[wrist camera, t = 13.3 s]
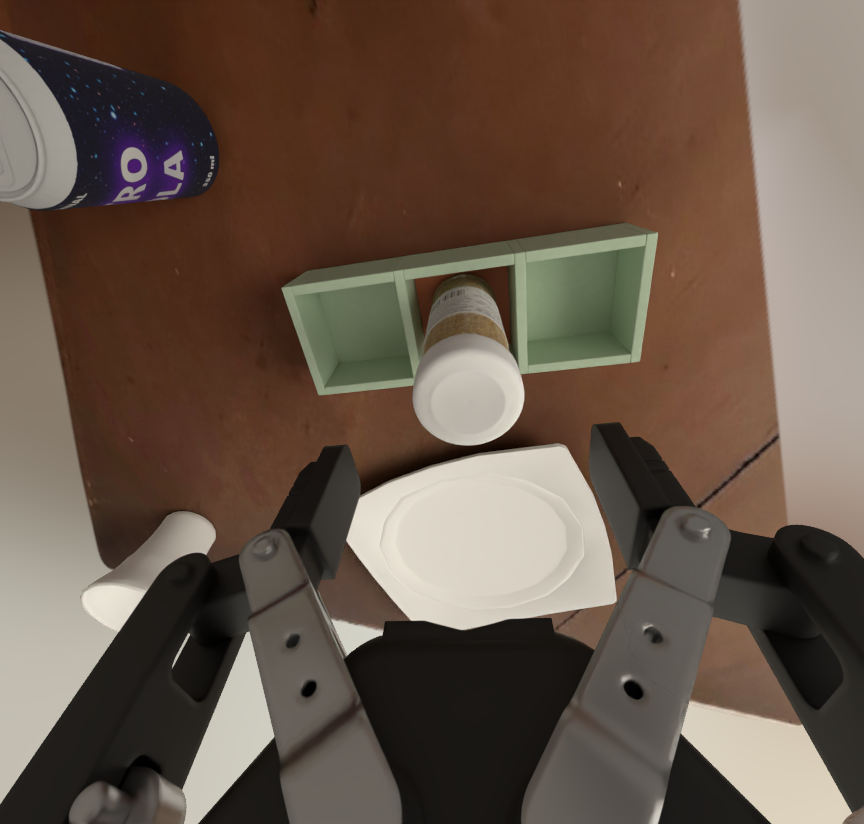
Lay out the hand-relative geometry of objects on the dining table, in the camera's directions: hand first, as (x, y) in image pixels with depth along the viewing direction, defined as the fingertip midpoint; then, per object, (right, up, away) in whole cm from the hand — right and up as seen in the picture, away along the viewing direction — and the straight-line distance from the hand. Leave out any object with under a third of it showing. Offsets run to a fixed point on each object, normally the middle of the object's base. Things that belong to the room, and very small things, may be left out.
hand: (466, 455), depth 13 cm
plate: (+4, -12, +28) cm, 30 cm away
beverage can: (-16, +18, +11) cm, 27 cm away
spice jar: (+1, +9, +14) cm, 17 cm away
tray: (+1, +9, +15) cm, 17 cm away
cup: (-27, -11, +30) cm, 42 cm away
